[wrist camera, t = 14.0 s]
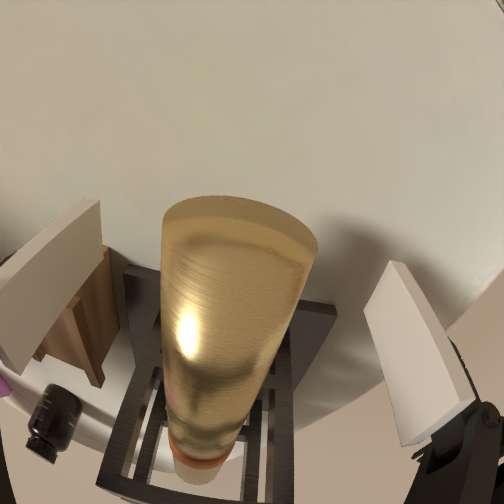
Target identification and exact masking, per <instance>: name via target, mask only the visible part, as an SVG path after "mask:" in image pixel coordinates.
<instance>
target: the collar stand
mask: <svg viewBox="0 0 504 504" xmlns="http://www.w3.org/2000/svg"><path fill="white" fill-rule="evenodd" d="M123 277H124V288H125V297H126V306H127V314H128V321H129V328H130V335H131V341H132V347H133V353H134V358H135V363H136V368H135V370H134V373H133V375H132V378H131V381H130V383H129V386H128V388H127V391H126V394H125V396H124V399H123V402H122V405H121V407H120V410H119V413H118V416H117V419H116V421H115V424H114V427H113V430H112V433H111V436H110V439H109V442H108V445H107V448H106V451H105V454H104V458H103V461H102V464H101V467H100V471H99V474H98V477H97V481H96V485H97V486H98V487H100V488H102V489H103V490H105V491H107V492H109V493H111V494H113V495H115V496H118V497H121V499H123V500H125V501H127V502H129V503H131V504H294V436H293V435H294V433H293V396H292V393H293V391H294V390H295V388H296V387H297V385H298V384H299V382H300V380H301V379H302V377H303V376H304V374H305V372H306V371H307V369H308V367H309V366H310V364H311V362H312V361H313V359H314V357H315V356H316V354H317V352H318V350H319V349H320V347H321V345H322V344H323V342H324V340H325V338H326V336H327V335H328V333H329V331H330V329H331V327H332V325H333V324H334V322H335V320H336V318H337V316H338V315H337V311H336V307H335V306H334V305H328V304H322V303H316V302H310V301H304V300H299V301H298V303H297V306H296V308H295V311H294V313H293V316H292V318H291V320H290V323H289V325H288V328H287V330H286V332H285V335H284V337H283V339H282V342H281V344H280V346H279V349H278V351H277V353H276V356H275V358H274V360H273V362H272V365H271V367H270V369H269V371H268V373H267V376H266V378H265V380H264V382H263V384H262V386H261V389H260V391H259V393H258V395H257V397H256V399H255V401H254V403H253V405H252V408H251V410H250V412H249V414H248V416H247V420H246V425H243V426H242V428H241V430H240V432H239V434H238V436H237V438H236V441H242V442H245V445H244V457H243V469H242V480H241V493H240V501H233V500H224V499H217V498H210V497H203V496H197V495H192V494H187V493H182V492H177V491H172V490H168V489H165V488H160V487H157V486H153V485H149V483H150V478H151V474H152V470H153V465H154V461H155V457H156V453H157V449H158V445H159V441H160V437H161V433H162V429H163V426H164V427H168V426H169V425H168V417H167V407H166V397H165V386H164V373H163V358H162V338H161V272H160V271H156V270H151V269H147V268H143V267H138V266H134V265H130V264H129V265H128V267H127V268H126V270H125V271H124V272H123ZM153 389H155V390H158V391H157V394H156V398H155V401H154V404H153V407H152V411H151V414H150V418H149V421H148V424H147V428H146V431H145V435H144V439H143V442H142V446H141V449H140V453H139V457H138V461H137V464H136V469H135V473H134V476H133V479H130V478H127V477H128V473H129V469H130V466H131V462H132V458H133V455H134V451H135V448H136V444H137V440H138V437H139V434H140V430H141V427H142V423H143V420H144V417H145V414H146V410H147V407H148V404H149V401H150V397H151V394H152V391H153ZM262 410H264V411H268V439H267V464H266V465H267V466H266V486H265V487H266V488H265V503H258V502H257V495H258V479H259V461H260V442H261V421H262Z"/></svg>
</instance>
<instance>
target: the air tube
mask: <svg viewBox="0 0 504 504" xmlns="http://www.w3.org/2000/svg"><path fill="white" fill-rule="evenodd" d="M317 250H318V247H317V241H316V239H315V237H314V235H313V233H312V232H311V231H310V230H309V229H308V228H307V227H306V226H305V225H304V224H303V223H302V222H301V221H299V220H298V219H296V218H295V217H293V216H292V215H290V214H288V213H286V212H284V211H282V210H280V209H278V208H276V207H273V206H270V205H268V204H265V203H261V202H258V201H254V200H250V199H245V198H239V197H232V196H201V197H195V198H190V199H187V200H184V201H181V202H179V203H177V204H175V205H173V206H172V207H171V208H170V209H168V211H167V212H166V213H165V215H164V217H163V222H162V243H161V338H162V358H163V373H164V386H165V397H166V407H167V417H168V425H169V426H168V437H169V444H170V448H171V450H172V454H173V460H174V466H175V470H176V473H177V474H178V476H179V477H180V478H181V479H182V480H184V481H185V482H188V483H190V484H194V485H203V484H207V483H209V482H211V481H212V480H213V479H214V478H215V477H216V475H217V473H218V472H219V470H220V468H221V466H222V464H223V462H224V461H225V460H226V459H227V458H228V456H229V454H230V453H231V451H232V449H233V447H234V445H235V441H236V438H237V436H238V434H239V432H240V430H241V428H242V426H243V424H244V422H245V420H246V418H247V416H248V414H249V412H250V410H251V408H252V405H253V403H254V401H255V399H256V397H257V395H258V393H259V391H260V389H261V386H262V384H263V382H264V380H265V378H266V376H267V373H268V371H269V369H270V367H271V365H272V362H273V360H274V358H275V356H276V353H277V351H278V349H279V346H280V344H281V342H282V339H283V337H284V335H285V332H286V330H287V328H288V325H289V323H290V320H291V318H292V316H293V313H294V311H295V308H296V306H297V303H298V301H299V298H300V296H301V293H302V291H303V288H304V286H305V283H306V280H307V278H308V275H309V273H310V270H311V267H312V265H313V262H314V259H315V257H316V254H317Z"/></svg>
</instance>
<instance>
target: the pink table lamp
mask: <svg viewBox="0 0 504 504" xmlns="http://www.w3.org/2000/svg"><path fill="white" fill-rule="evenodd" d="M11 391H12V390H11V389H10V387H9V386H8V385H7V384H6V382H5V381H4V380H3V378H2V377H1V376H0V398H1V397H5V396H9V395H10V393H11Z"/></svg>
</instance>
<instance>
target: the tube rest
mask: <svg viewBox="0 0 504 504" xmlns="http://www.w3.org/2000/svg"><path fill="white" fill-rule="evenodd" d="M103 256H104V259H103V260H102V261H101V262H100V263H99V265H98V266H97V267H96V268H95V270H94V271H93V272H92V273H91V274H90V276H89V277H88V278H87V280H86V281H85V282H84V283H83V285H82V286H81V287H80V288H79V290H78V291H77V292H76V294H75V295H74V296H73V298H72V299H71V300H70V302H69V303H68V304H67V306H66V307H65V309H64V310H63V311H62V313H61V314H60V315H59V317H58V318H57V320H56V321H55V323H54V324H53V325H52V327H51V328H50V330H49V331H48V333H47V334H46V336H45V337H44V339H43V340H42V342H41V343H40V345H39V346H38V348H37V350H36V351H35V353H34V354H33V356H32V357H33V359H35V360H37V361H39V362H41V361H42V359H43V358H44V356H45V354H48V355H50V356H52V357H55V358H57V359H59V360H61V361H63V362H66V363H68V364H70V365H73V366H75V367H78V368H80V369H82V370H85V373H86V375H87V377H88V379H89V381H90V383H91V385H92V386H95V387H97V388H100V389H101V387H102V385H103V383H104V380H105V376H104V373H103V370H102V367H101V365H102V363H103V361H104V359H105V357H106V355H107V353H108V351H109V349H110V347H111V345H112V343H113V341H114V339H115V337H116V335H117V333H118V331H119V329H120V328H119V322H118V317H117V310H116V304H115V297H114V290H113V282H112V273H111V264H110V253H109V247H106V246H103Z"/></svg>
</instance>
